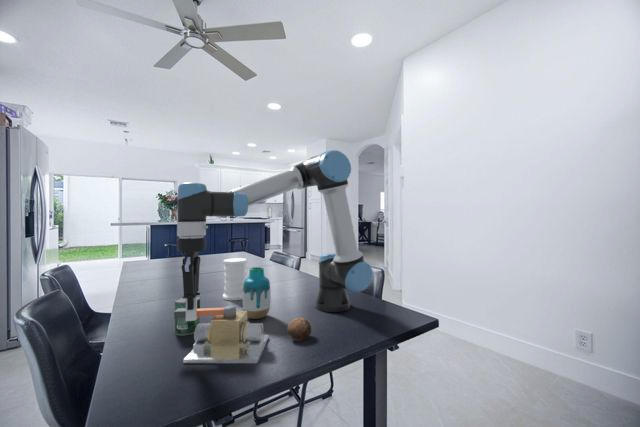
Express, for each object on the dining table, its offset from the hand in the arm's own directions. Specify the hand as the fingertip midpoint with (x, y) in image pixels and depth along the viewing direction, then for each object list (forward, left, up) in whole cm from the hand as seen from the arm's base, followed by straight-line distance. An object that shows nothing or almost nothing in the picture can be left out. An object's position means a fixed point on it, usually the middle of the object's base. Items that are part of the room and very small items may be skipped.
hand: (191, 319), depth 77 cm
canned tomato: (+9, -16, -10) cm, 21 cm away
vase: (-12, -28, -10) cm, 32 cm away
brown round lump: (-30, -11, -10) cm, 34 cm away
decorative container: (+5, -55, -10) cm, 56 cm away
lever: (-3, -2, 0) cm, 4 cm away
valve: (-10, -3, -10) cm, 14 cm away
